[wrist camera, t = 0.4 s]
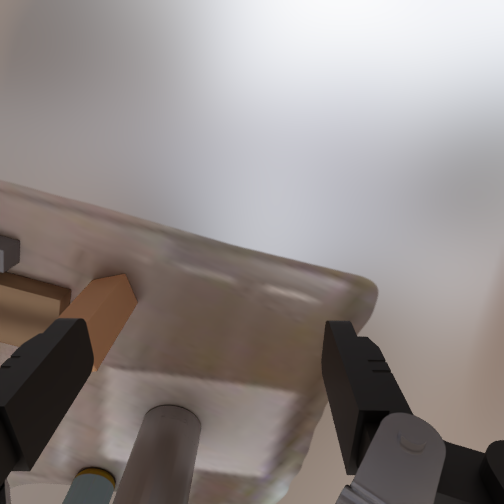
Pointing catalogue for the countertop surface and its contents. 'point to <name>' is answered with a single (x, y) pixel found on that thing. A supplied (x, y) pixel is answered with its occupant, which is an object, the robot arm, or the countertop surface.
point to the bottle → (91, 488)
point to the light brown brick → (103, 312)
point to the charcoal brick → (8, 253)
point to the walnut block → (28, 307)
